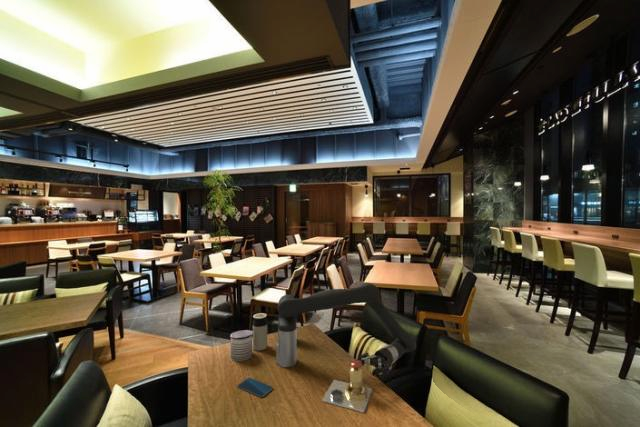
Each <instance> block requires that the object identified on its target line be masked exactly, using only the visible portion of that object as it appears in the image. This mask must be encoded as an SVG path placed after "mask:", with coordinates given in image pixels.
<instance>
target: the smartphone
mask: <svg viewBox="0 0 640 427" xmlns="http://www.w3.org/2000/svg"><path fill="white" fill-rule="evenodd" d="M236 388H238V389H239V390H242V391H243V392H246V393H248V394H250V395H253V396H255V397H258V398H260V399H264V398H265V397H266V396H268V395H269V394H270V393H271V392H272V391H273V390H274V387H273V386H272V385H269V384H266V383H264V382H262V381H258V380H256V379H254V378H251V377H247V378H246V379H244V380H242V381H241V382H240V383H238V384H237V385H236Z"/></svg>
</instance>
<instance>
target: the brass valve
mask: <svg viewBox="0 0 640 427" xmlns="http://www.w3.org/2000/svg"><path fill="white" fill-rule="evenodd" d="M362 366H363V365H362V362H361V361H359V359H352V360H351V361H350V363H349V383H350V393H352V394H356V395H359V394H363V385H364V384H363V379H364V378H363V373H364V372H363V367H362Z"/></svg>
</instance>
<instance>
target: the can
mask: <svg viewBox="0 0 640 427" xmlns="http://www.w3.org/2000/svg"><path fill="white" fill-rule="evenodd" d="M229 336H230V337H229V338H230V359H231V360H232V361H234V362H242V361H246V360H249V359H250V358H251V357H252V356H253V330H249V329H246V330H245V329H244V330H237V331H234V332H231V333H230V335H229Z"/></svg>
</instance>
